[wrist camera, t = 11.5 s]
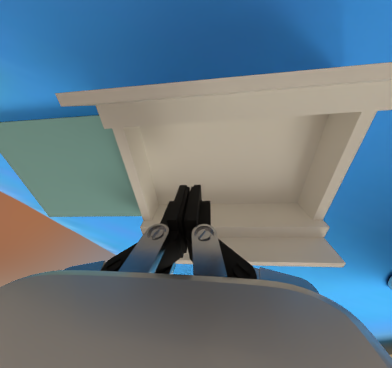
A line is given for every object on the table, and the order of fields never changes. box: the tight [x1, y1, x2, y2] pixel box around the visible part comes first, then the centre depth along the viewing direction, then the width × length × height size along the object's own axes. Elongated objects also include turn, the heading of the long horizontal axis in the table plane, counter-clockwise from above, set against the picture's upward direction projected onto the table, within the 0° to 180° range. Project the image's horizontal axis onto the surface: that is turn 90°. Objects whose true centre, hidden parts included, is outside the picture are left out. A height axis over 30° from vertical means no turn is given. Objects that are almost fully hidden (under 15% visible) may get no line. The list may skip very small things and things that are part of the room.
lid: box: [0, 115, 142, 217], centre depth 19 cm, size 16×13×2 cm
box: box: [56, 62, 392, 267], centre depth 14 cm, size 20×15×8 cm
